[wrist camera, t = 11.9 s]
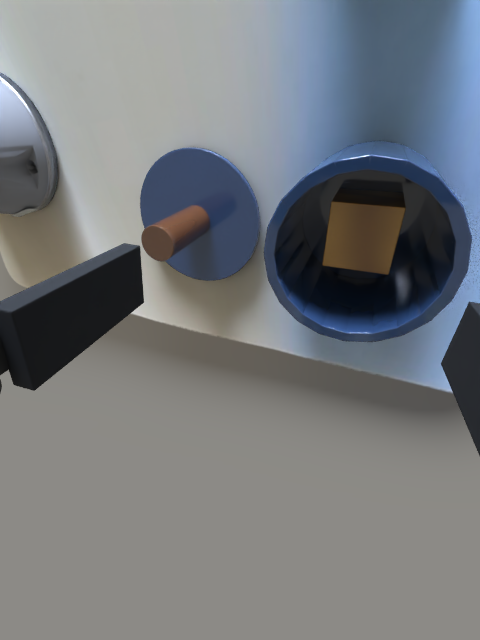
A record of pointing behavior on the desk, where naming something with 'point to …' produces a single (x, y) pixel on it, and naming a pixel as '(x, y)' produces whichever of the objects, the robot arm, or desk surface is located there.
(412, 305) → the blue paneled pot
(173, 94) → the desk surface
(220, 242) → the lid
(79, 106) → the desk surface
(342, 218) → the block
